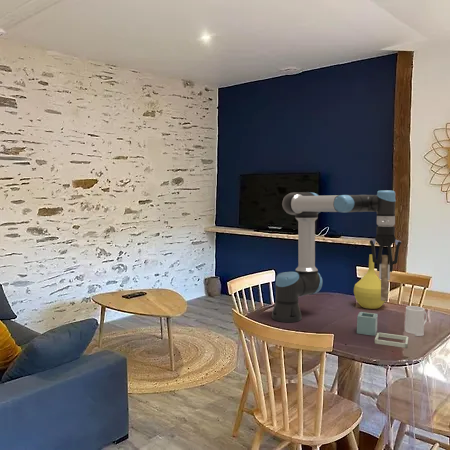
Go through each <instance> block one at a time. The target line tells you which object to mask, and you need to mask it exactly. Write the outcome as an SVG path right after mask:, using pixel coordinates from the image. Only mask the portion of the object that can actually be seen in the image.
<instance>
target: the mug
mask: <svg viewBox="0 0 450 450" xmlns="http://www.w3.org/2000/svg"><path fill="white" fill-rule="evenodd" d="M427 321H428V314H427V311H426V310H425V308H424V307H422V306H416V305H408V306H405V323H404V332H406V333H408V334H413V335H414V337H423V336H424V335H425V325H426V323H427Z"/></svg>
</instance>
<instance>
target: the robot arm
mask: <svg viewBox="0 0 450 450" xmlns="http://www.w3.org/2000/svg"><path fill="white" fill-rule="evenodd" d="M396 201H397V200H396V191H394V190H387V189H386V190H378V191H377V193H376V194H340V195H339V194H338V195H336V194H335V195H331V194H330V195H319V194H318V193H315V192H311V191H310V192H309V191H306V192H305V191H303V192H295V191H293V192H290V193H288V194H286V195H285V196H284V197H283V200H282V203H281V205H282V209H283V210H284V212H286V214H288V215H291V216H295V217H294V218H295V220H296V221H297V222H298V223H297V224H298V227H297V228H298V230H297V231H298V233H297V234H298V237H297V239H298V243H297V244H298V247H297V248H298V253H297V254H298V256H297V257H298V258H297V259H298V262H297V263H298V265H297V267H296V268H295V271H285V272H284V271H283V272H279V273H278V274H277V275H276V277H275V278H276V279H275V302H274V303H275V304H274V306H273V308H272V313H271V319H273V320H274V321H277V322H282V323H296V322H300V321H301V320H302V312H301V308H300V305H299V297H303V296H304V297H305V296H312V295H314V294H318V293H319V292H320V290H321V289H322V287H323V278H322V275H321V274H320V272H319V270H318V268H317V267H316V221H317V220H318V218H319V214H320V213H321V212H323V213H328V212H329V213H345V214H346V213H363V212H364V213H365V212H367V213H368V212H370V213H371V212H376V225H377V226H376V236H375V237H374V238H373V239H370V240H369V244H370V246H371V247H370V248H371V254H372V260H373V262H374V264H376V271H377V272H378V273H379V274H378V275H379V276H378V277H379V279H380V280H381V267H382V264H381V261H382V255H383V250H384V249H383V248H387V255H388V281H390V279H391V273H393V272H394V270H393V269H394V265H395V264H396V265H397V264H398V261H399V252H400V246H401V244H402V241H401V240H397V238H396V235H395V233H396V230H395V229H396V227H395V225H396ZM376 243H377V244H378V246H379V247H378V254H376V245H375V244H376ZM394 243H395V252H394V258H393V253H392V245H393V244H394ZM376 255H377V257H376ZM393 259H394V260H393Z"/></svg>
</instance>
